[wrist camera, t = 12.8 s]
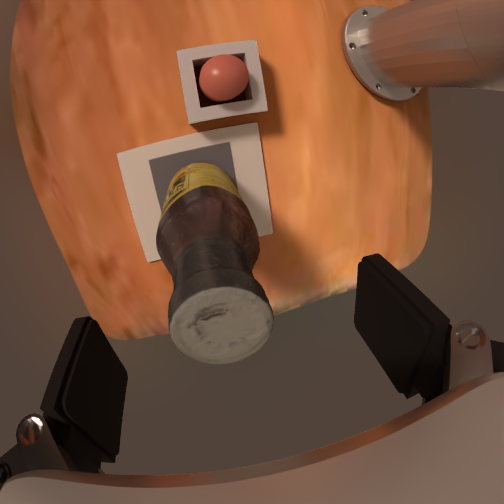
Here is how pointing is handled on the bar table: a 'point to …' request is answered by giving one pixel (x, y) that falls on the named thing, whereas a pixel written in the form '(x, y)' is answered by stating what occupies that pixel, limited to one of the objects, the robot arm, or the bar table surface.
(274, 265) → the bar table surface
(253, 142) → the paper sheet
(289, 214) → the bar table surface
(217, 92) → the button
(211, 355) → the sauce bottle
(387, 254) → the bar table surface
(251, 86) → the button housing
